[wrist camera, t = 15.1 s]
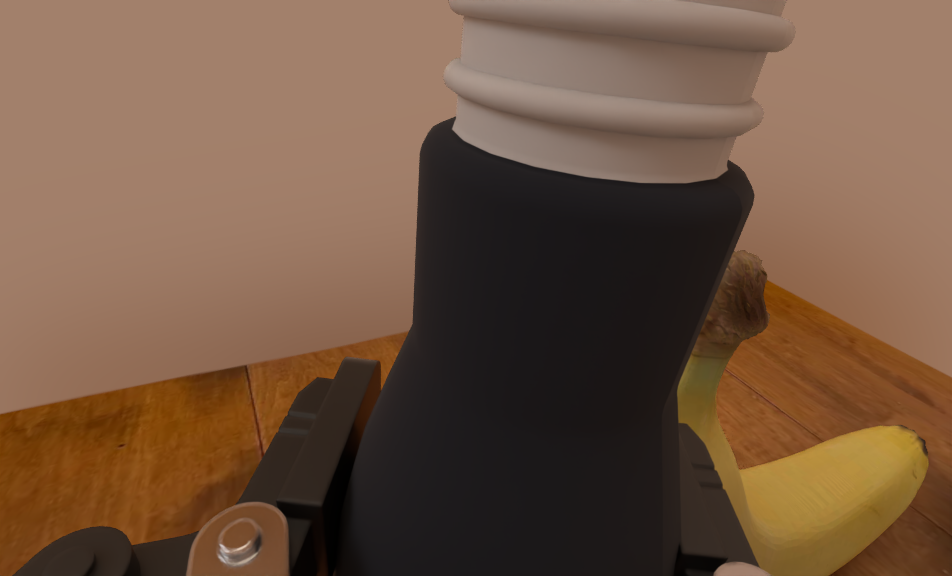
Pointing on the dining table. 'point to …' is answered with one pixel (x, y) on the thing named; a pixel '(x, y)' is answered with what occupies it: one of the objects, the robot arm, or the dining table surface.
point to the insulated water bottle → (560, 289)
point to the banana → (805, 473)
